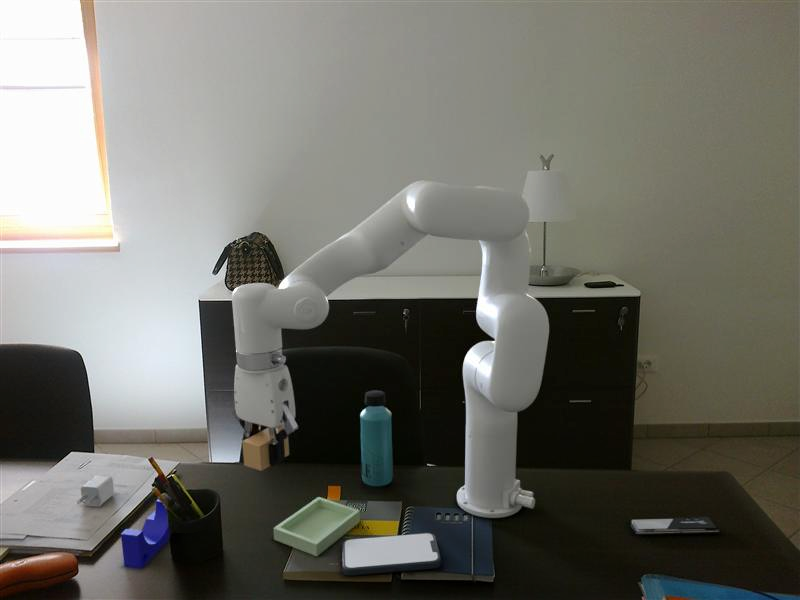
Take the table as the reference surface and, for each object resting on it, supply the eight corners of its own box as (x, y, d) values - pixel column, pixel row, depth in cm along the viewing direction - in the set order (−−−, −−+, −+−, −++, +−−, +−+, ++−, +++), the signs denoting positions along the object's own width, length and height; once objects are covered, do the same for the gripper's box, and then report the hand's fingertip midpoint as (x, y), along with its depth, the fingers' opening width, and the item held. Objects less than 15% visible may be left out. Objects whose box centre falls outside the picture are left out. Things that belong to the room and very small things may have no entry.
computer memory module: (636, 531, 118) (628, 518, 122) (636, 536, 118) (628, 523, 122) (720, 529, 119) (709, 516, 122) (719, 534, 119) (709, 521, 123)
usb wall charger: (114, 495, 134) (112, 477, 133) (93, 513, 128) (90, 494, 127) (96, 493, 135) (93, 475, 134) (74, 512, 128) (71, 492, 127)
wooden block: (289, 454, 119) (287, 430, 118) (261, 471, 113) (259, 446, 112) (272, 449, 121) (270, 426, 120) (243, 465, 115) (242, 441, 114)
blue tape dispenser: (155, 526, 123) (152, 496, 122) (178, 528, 122) (175, 498, 121) (116, 565, 112) (112, 532, 110) (141, 568, 111) (137, 535, 110)
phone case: (342, 579, 108) (442, 570, 110) (342, 570, 108) (442, 561, 109) (342, 547, 117) (434, 539, 118) (341, 538, 116) (434, 531, 118)
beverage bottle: (399, 483, 138) (398, 390, 134) (381, 497, 133) (379, 401, 128) (373, 475, 141) (371, 384, 137) (354, 488, 136) (351, 394, 132)
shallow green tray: (360, 521, 124) (360, 510, 124) (316, 556, 114) (316, 544, 113) (319, 507, 129) (318, 496, 129) (273, 539, 119) (273, 528, 118)
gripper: (313, 359, 111) (319, 461, 115) (239, 345, 120) (247, 441, 124) (282, 372, 105) (289, 480, 109) (207, 356, 114) (216, 457, 118)
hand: (267, 458), depth 117 cm, fingers closed on wooden block, 4 cm apart
